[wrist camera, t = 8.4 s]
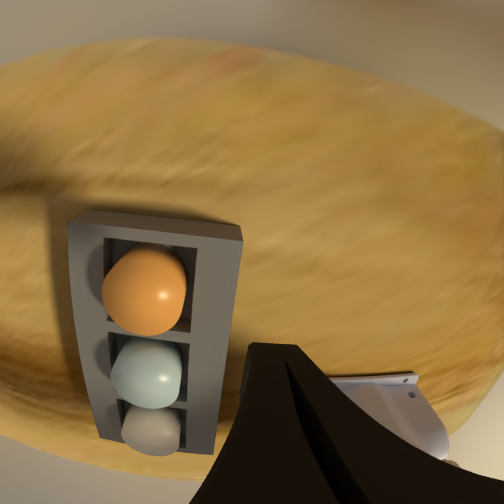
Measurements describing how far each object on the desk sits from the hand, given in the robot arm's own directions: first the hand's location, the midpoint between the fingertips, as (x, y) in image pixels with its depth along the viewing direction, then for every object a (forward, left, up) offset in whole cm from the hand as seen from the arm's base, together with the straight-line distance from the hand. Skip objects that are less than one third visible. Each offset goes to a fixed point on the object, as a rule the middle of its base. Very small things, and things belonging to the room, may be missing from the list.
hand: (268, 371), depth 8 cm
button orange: (+5, +2, -9) cm, 10 cm away
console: (+5, +7, -10) cm, 13 cm away
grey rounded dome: (+5, +7, -9) cm, 12 cm away
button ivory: (+5, +13, -9) cm, 16 cm away
